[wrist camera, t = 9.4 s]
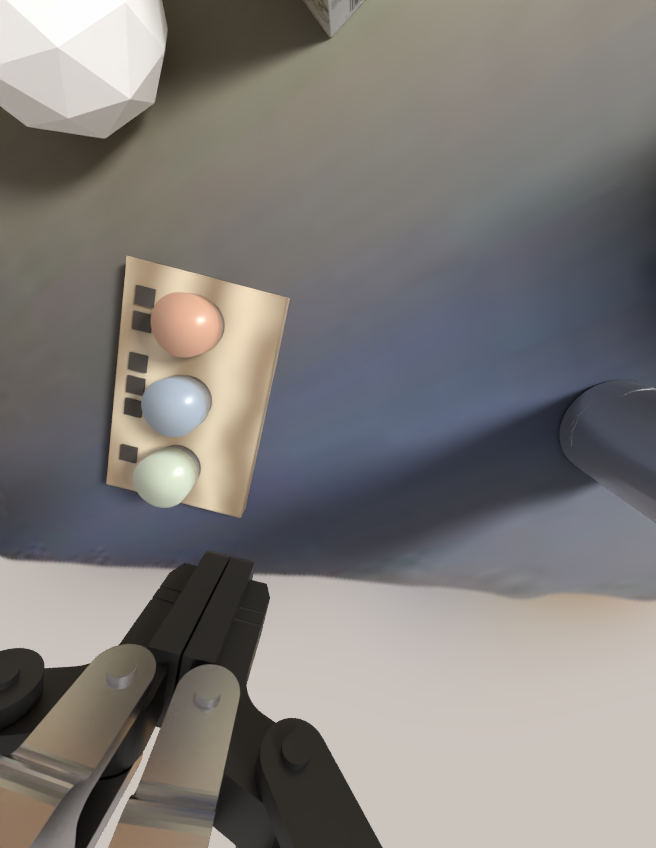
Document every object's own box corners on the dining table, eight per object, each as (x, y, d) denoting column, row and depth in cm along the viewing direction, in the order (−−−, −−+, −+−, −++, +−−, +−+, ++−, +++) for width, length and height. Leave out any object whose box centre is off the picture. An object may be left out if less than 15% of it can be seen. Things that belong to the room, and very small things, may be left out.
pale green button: (201, 454, 36) (191, 464, 34) (194, 500, 38) (184, 513, 35) (149, 441, 36) (136, 450, 34) (143, 488, 38) (130, 499, 35)
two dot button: (227, 301, 32) (217, 301, 30) (217, 360, 34) (207, 364, 31) (168, 286, 32) (154, 284, 30) (161, 345, 34) (147, 348, 31)
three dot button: (213, 382, 34) (203, 388, 32) (205, 434, 36) (195, 443, 33) (158, 368, 34) (144, 372, 32) (152, 421, 36) (138, 428, 33)
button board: (290, 298, 35) (285, 297, 32) (245, 508, 42) (238, 522, 39) (139, 258, 35) (121, 254, 32) (117, 475, 41) (101, 487, 39)
